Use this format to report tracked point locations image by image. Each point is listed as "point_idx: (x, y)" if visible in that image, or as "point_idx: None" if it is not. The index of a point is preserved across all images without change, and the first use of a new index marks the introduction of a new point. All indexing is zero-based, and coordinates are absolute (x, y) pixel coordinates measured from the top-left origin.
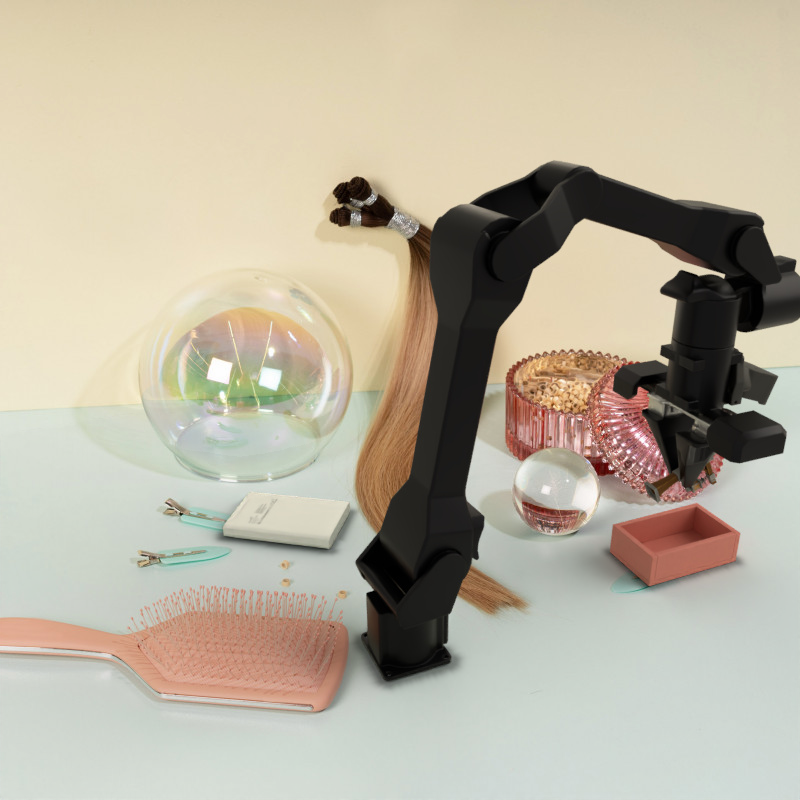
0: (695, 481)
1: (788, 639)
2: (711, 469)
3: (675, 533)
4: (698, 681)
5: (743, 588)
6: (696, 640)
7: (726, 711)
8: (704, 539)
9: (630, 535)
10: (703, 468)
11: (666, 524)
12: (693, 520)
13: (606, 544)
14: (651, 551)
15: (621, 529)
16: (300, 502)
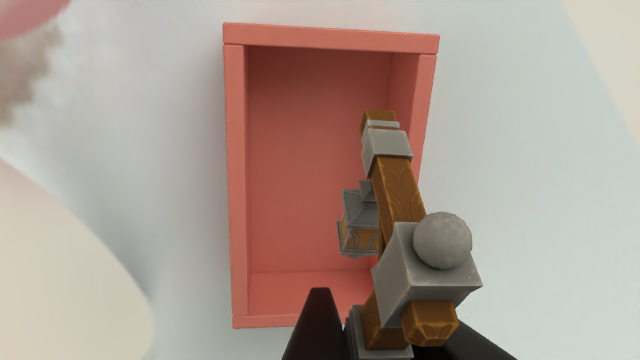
0: (366, 230)
1: (627, 146)
2: (414, 185)
3: (249, 107)
4: (580, 334)
5: (484, 103)
6: (525, 287)
7: (635, 335)
8: None
9: (297, 318)
10: (495, 346)
11: (247, 154)
12: (246, 45)
13: (208, 266)
14: (290, 212)
15: (262, 322)
16: None
